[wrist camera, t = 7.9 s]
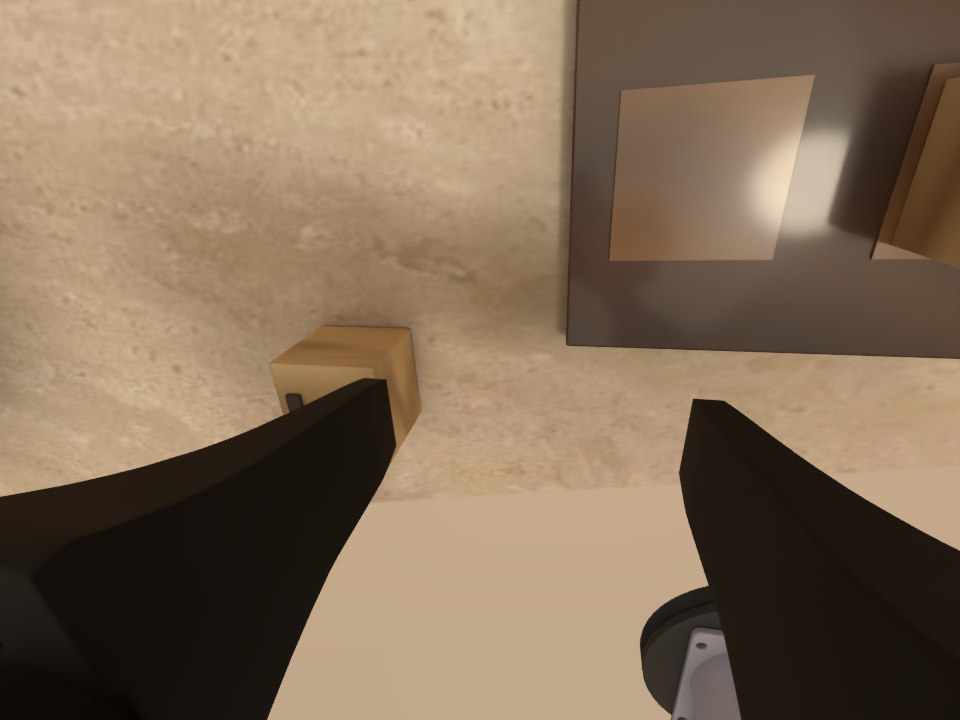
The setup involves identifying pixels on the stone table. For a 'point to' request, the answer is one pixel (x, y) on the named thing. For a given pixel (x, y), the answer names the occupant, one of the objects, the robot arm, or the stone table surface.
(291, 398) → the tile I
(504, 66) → the stone table surface
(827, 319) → the word board
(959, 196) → the tile
